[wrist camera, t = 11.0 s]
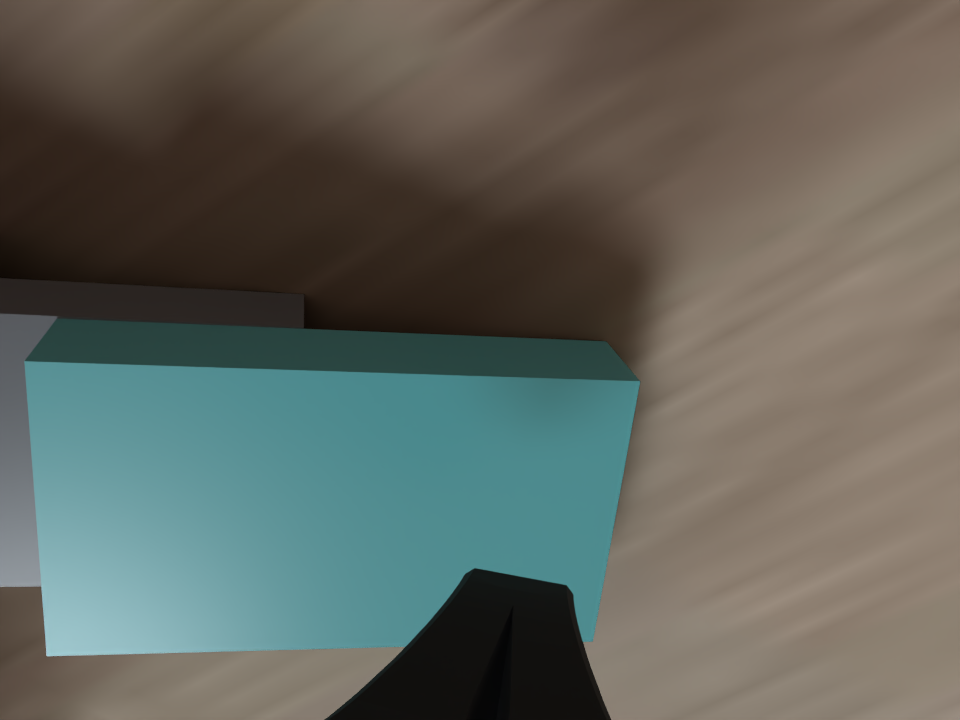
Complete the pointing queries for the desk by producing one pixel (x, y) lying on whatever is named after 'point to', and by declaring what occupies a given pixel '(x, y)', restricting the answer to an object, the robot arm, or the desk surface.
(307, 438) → the domino
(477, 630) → the robot arm
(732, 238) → the desk surface
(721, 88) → the desk surface
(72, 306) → the domino
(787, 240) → the desk surface
